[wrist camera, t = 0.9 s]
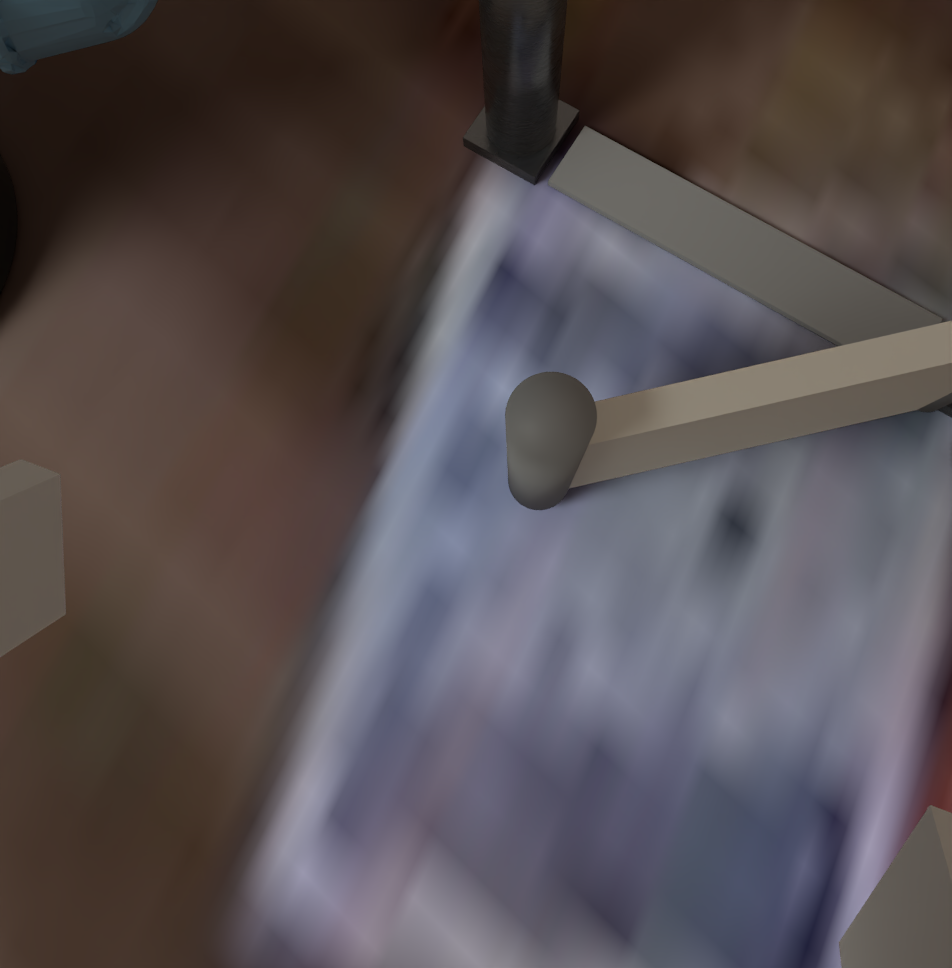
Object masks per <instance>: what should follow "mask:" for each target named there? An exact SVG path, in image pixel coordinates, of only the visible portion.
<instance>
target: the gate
mask: <svg viewBox="0 0 952 968" xmlns="http://www.w3.org/2000/svg"><path fill="white" fill-rule="evenodd" d="M951 403H952V321H948V322H944V323H939V324H935V325H930V326H926V327H922V328H917V329H913V330H908V331H904V332H900V333H895V334H891V335H886V336H882V337H878V338H873V339H869V340H864V341H860V342H856V343H851V344H847V345H842V346H838V347H834V348H829V349H825V350H820V351H816V352H812V353H807V354H803V355H798V356H794V357H790V358H785V359H781V360H776V361H772V362H768V363H763V364H759V365H754V366H750V367H745V368H741V369H737V370H732V371H728V372H723V373H719V374H715V375H710V376H706V377H701V378H697V379H693V380H688V381H684V382H679V383H675V384H671V385H666V386H662V387H657V388H653V389H649V390H644V391H640V392H635V393H631V394H627V395H622V396H618V397H613V398H609V399H605V400H600V401H596V402H594V399H593V397H592V395H591V394H590V392H589V391H588V389H587V388H586V387H585V386H584V385H583V384H582V383H581V382H580V381H578V380H577V379H575V378H573V377H571V376H569V375H567V374H563V373H559V372H544V373H539V374H535V375H533V376H531V377H529V378H527V379H525V380H524V381H523V382H521V383H520V384H519V385H518V386H517V387H516V388H515V390H514V391H513V392H512V394H511V396H510V398H509V400H508V403H507V407H506V413H505V419H506V442H507V464H508V484H509V488H510V491H511V493H512V495H513V497H514V498H515V499H516V500H517V501H518V502H519V503H520V504H521V505H523V506H525V507H527V508H529V509H533V510H545V509H549V508H551V507H554V506H555V505H557V504H558V503H559V502H561V500H562V499H563V498H564V497H565V495H566V493H567V491H568V489H569V488H573V487H578V486H582V485H587V484H591V483H595V482H600V481H604V480H609V479H613V478H618V477H622V476H626V475H631V474H635V473H640V472H644V471H649V470H653V469H658V468H662V467H666V466H671V465H675V464H680V463H684V462H689V461H693V460H697V459H702V458H706V457H711V456H715V455H720V454H724V453H728V452H733V451H737V450H742V449H746V448H751V447H755V446H759V445H764V444H768V443H773V442H777V441H782V440H786V439H790V438H795V437H799V436H804V435H808V434H813V433H817V432H821V431H826V430H830V429H835V428H839V427H844V426H848V425H852V424H857V423H861V422H866V421H870V420H875V419H879V418H883V417H888V416H892V415H897V414H901V413H906V412H910V411H914V410H918V411H921V412H933V411H936V410H938V409H940V408H942V407H944V406H946V405H949V404H951Z"/></svg>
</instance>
